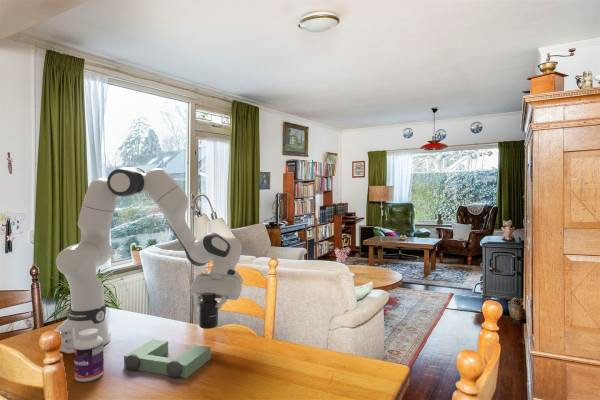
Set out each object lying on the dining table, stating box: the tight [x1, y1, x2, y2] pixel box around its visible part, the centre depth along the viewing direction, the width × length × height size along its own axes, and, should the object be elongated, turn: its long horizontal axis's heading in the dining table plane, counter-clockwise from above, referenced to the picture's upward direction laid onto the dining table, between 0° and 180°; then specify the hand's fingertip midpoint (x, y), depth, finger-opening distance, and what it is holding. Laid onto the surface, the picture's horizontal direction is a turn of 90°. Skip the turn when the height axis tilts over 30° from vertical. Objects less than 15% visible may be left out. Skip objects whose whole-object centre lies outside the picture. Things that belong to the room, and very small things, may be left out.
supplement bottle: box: [198, 292, 219, 330], centre depth 140 cm, size 7×7×12 cm
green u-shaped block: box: [123, 338, 212, 379], centre depth 127 cm, size 24×15×5 cm, turn 71°
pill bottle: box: [73, 329, 105, 383], centre depth 119 cm, size 8×8×14 cm
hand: (207, 307), depth 139 cm, fingers closed on supplement bottle, 7 cm apart
